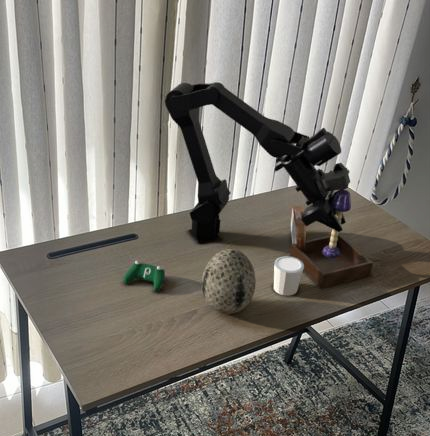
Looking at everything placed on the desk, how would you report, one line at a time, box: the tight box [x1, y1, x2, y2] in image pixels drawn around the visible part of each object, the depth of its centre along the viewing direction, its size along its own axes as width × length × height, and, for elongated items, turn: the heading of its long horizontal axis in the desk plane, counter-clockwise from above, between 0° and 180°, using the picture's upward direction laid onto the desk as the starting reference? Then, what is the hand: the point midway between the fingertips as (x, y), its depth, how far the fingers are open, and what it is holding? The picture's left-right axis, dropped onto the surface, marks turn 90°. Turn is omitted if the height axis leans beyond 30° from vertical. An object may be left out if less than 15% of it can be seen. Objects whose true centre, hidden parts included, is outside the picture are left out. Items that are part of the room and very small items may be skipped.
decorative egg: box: [201, 248, 257, 315], centre depth 146 cm, size 12×12×15 cm
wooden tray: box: [289, 233, 374, 289], centre depth 167 cm, size 14×14×4 cm
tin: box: [290, 205, 307, 252], centre depth 173 cm, size 15×3×8 cm, turn 179°
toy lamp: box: [322, 189, 352, 258], centre depth 160 cm, size 5×5×17 cm
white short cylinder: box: [273, 255, 304, 297], centre depth 157 cm, size 7×7×7 cm
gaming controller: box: [122, 260, 166, 293], centre depth 156 cm, size 9×4×6 cm
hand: (342, 227), depth 160 cm, fingers closed on toy lamp, 3 cm apart
